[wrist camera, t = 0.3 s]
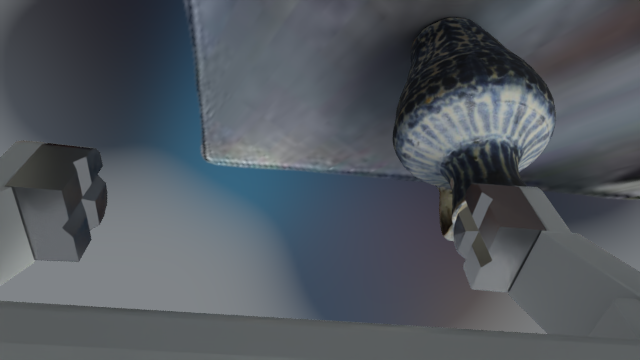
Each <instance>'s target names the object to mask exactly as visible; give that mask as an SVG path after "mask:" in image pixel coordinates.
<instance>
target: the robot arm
mask: <svg viewBox="0 0 640 360" xmlns="http://www.w3.org/2000/svg"><path fill="white" fill-rule="evenodd" d="M102 167H103V164H102V160H101V155H100V152H99V151H98V150H97V149H96V148H89V147H80V146H70V145H62V144H53V143H44V142H32V141H18V142H15V143H14V144H13V145H12V146H11V147H10V148H9V149H8V150H7V151H6V152H5V153H4V154H3V155H2V156H1V157H0V286H1V285H2V284H4V283H5V282H7V281H8V280H10V279H11V278H13V277H14V276H15V275H17V274H18V273H20V272H21V271H23V270H24V269H25V268H27V267H28V266H30V265H31V264H33V263H34V262H35V261H34V260H47V261H70V262H79V261H80V259H81V257H82V255H83V253H84V252H85V250H86V248H87V247H88V245H89V243H90V241H91V234H90V230H91V229H93V228H95V227H97V226H98V225H100V223H101V221H102V219H103V217H104V214H105V210H106V206H107V188H106V183H105V182H104V181H103V180H102V179H101V178H100V177H99V176H98V173H99V171H100V170H101V168H102ZM464 199H465V201H466V203H467V205H468V206H467V207H465V208H464V209H463V210H461V211H460V212H459V213H458V215H457V218H456V221H455V224H454V235H453V236H454V243H455V247H456V250H457V252H458V253H459V254H460V255H461V256H463V257H464V258H465V259H466V260H465V263H464V265H463V268H464V271H465V274H466V276H467V279H468V281H469V284H470V287H471V289H476V290H486V291H497V292H507V293H508V295H509V296H510V297H511V298H512V299H513V300H514V301H515V302H516V303H517V304H518V305H519V306H520V307H521V308H522V309H523V310H524V311H526V312H527V314H528V315H529V316H530V317H531V318H532V319H533V320H534V321H535V322H536V323H537V324H538V325H539V326H540V327H541V328H542V329H544V330H545V331H546V333H547V334H537V333H520V332H519V333H518V332H504V331H487V330H471V329H456V328H438V327H422V326H407V325H391V324H375V323H374V324H373V323H359V322H342V321H325V320H308V319H291V318H274V317H258V316H240V315H224V314H206V313H191V312H174V311H158V310H140V309H125V308H109V307H108V308H107V307H93V306H91V307H90V306H76V305H60V304H44V303H26V302H11V301H0V360H640V272H639V271H637V270H636V269H634V268H633V267H631V266H629V265H628V264H626V263H625V262H622V261H621V260H620V259H618V258H616V257H615V256H613V255H612V254H610V253H608V252H607V251H605V250H604V249H602V248H600V247H599V246H597V245H596V244H594V243H592V242H591V241H589V240H587V239H586V238H584V237H583V236H581V235H579V234H573V233H571V232H570V230H569V229H568V227H567V226H566V224H565V223H564V221H563V220H562V219H561V217H560V216H559V214H558V213H557V211H556V210H555V209H554V207H553V206H552V204H551V203H550V201H549V200H548V199H547V197H546V196H545V194H544V193H543V191H542V190H540V189H539V188H537V187H524V186H503V185H489V184H475V183H472V184H471V185H470V186H469V188H468V189H467V192H466V194H465V197H464Z"/></svg>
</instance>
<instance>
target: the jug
mask: <svg viewBox="0 0 640 360" xmlns="http://www.w3.org/2000/svg"><path fill="white" fill-rule="evenodd" d="M555 122H556V112H555V106H554V101H553V98H552V95H551V93H550V91H549V89H548V87H547V85H546V83H545V82H544V81H543V80H542V78H541V77H540V76H539V75H538V74H537V73H536V72H535V70H534V69H533V68H532V67H531V66H530V65H528V64H527V63H526V62H525V61H524V60H523V59H521V58H520V57H518V56H517V55H515V54H514V53H512V52H511V51H510V50H508V49H507V48H505V47H504V46H503V45H502V44H501V43H500V42H499V41H498V40H496V39H495V38H494V37H493V36H491V35H490V34H489V33H488V32H486V31H485V30H483V29H482V28H481V27H480V26H479V25H477V24H476V23H475V22H473V21H471V20H467V19H462V18H447V19H444V20H441V21H439V22H437V23H435V24H432V25H430V26H428V27H427V28H425V29H424V30H423V31H422V32H421V33H420V35H419V36H418V37H417V38H416V39H415V40H414V42H413V44H412V47H411V68H410V71H409V75H408V79H407V83H406V85H405V87H404V89H403V92H402V95H401V97H400V100H399V104H398V107H397V111H396V120H395V125H394V130H393V145H394V149H395V152H396V155H397V156H398V158H399V160H400V161H401V163H402V165H403V166H404V167H405V168H406V169H407V170H408V171H409V172H410V173H411V174H412V175H414V176H415V177H417V178H419V179H420V180H422V181H424V182H427V183H430V184H432V185H435V186H436V187H437V188H438V189H439V192H440V204H439V212H440V213H439V214H440V226H441V231H442V235H443V236H444V237H445V238H446V239H447V240H449V241H451V240H452V241H454V236H453V235H454V224H455V221H456V218H457V215H458V213H459V212H460V211H461V210H463V209H464V208H465V207H467V206H468V205H467V203H466V201H465V199H464V197H465V194H466V192H467V189H468V188H469V186H470V185H471V184H472V183H475V184H489V185H503V186H524V187H527V186H526V184H525V183H524V182H523V181H522V180H521V177H520V175H519V172H520V171H521V170H523V169H524V168H526V167H527V166H528V165H529V164H530V163H532V162H533V161H534V160H535V159H536V158H537V157H538V156H539V155H540V154H541V153H542V151H543V150H544V149H545V147H546V146H547V144H548V143H549V141H550V139H551V137H552V134H553V131H554V127H555Z"/></svg>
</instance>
